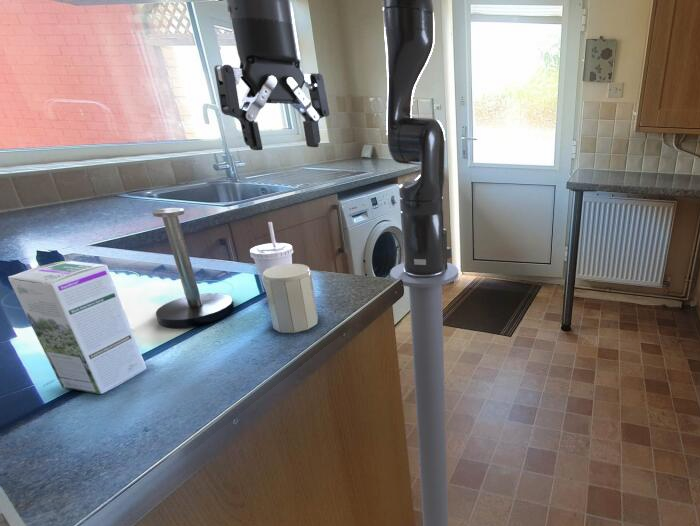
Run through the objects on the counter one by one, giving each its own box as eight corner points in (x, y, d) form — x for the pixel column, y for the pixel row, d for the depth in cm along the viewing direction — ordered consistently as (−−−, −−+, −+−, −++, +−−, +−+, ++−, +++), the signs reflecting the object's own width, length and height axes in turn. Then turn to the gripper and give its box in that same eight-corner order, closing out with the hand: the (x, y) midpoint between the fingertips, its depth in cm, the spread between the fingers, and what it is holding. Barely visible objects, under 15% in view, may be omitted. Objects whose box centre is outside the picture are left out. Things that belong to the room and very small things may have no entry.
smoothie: (307, 300, 73) (295, 223, 67) (269, 311, 68) (252, 230, 63) (292, 290, 77) (278, 216, 71) (254, 299, 72) (237, 222, 67)
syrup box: (149, 368, 52) (110, 262, 47) (99, 397, 47) (49, 280, 41) (111, 362, 53) (69, 257, 48) (58, 390, 48) (3, 275, 42)
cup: (303, 311, 69) (294, 260, 65) (326, 322, 66) (318, 270, 62) (265, 324, 64) (254, 271, 61) (288, 337, 61) (277, 281, 57)
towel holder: (218, 296, 73) (193, 200, 66) (245, 311, 68) (221, 210, 61) (148, 315, 65) (112, 210, 59) (173, 335, 60) (137, 222, 53)
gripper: (217, 6, 47) (249, 153, 53) (328, 27, 58) (343, 147, 64) (188, 11, 51) (221, 148, 57) (298, 30, 61) (315, 144, 68)
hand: (286, 148), depth 61 cm, fingers open, 8 cm apart
